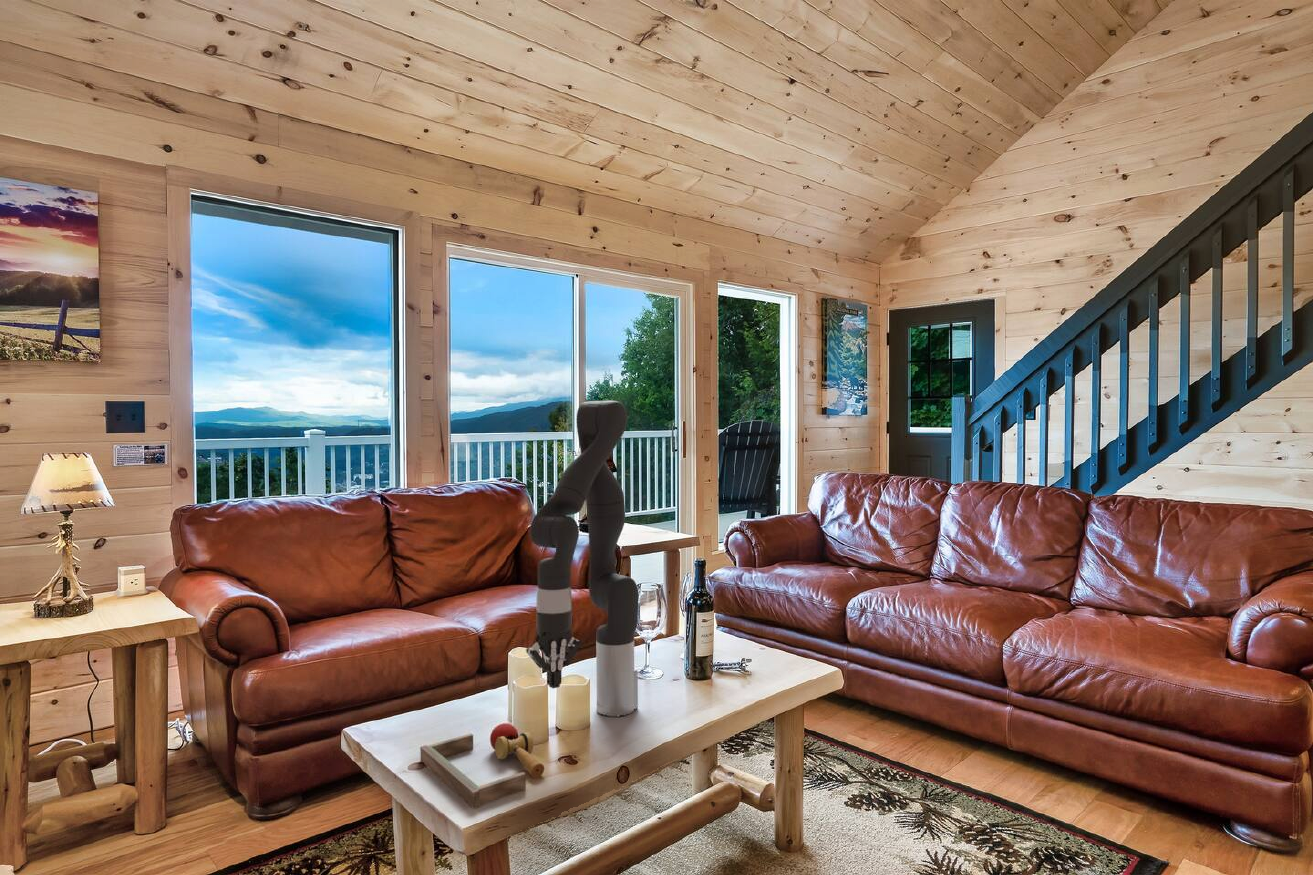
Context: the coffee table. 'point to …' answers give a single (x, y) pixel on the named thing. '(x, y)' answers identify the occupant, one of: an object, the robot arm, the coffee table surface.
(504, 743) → the kendama
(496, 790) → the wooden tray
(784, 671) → the coffee table surface
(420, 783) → the coffee table surface
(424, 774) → the coffee table surface
